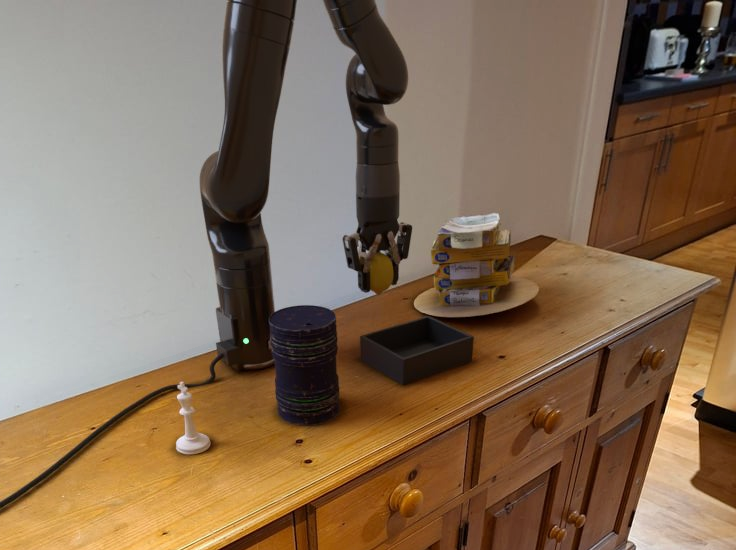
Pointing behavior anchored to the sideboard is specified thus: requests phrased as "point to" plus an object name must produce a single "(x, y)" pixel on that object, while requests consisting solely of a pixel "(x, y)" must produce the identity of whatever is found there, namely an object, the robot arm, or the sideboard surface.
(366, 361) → the bin
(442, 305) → the plate of stacked packets
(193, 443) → the chess piece
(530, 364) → the sideboard surface
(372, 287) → the lemon
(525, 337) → the sideboard surface
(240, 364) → the robot arm
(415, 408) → the sideboard surface
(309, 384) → the storage jar
